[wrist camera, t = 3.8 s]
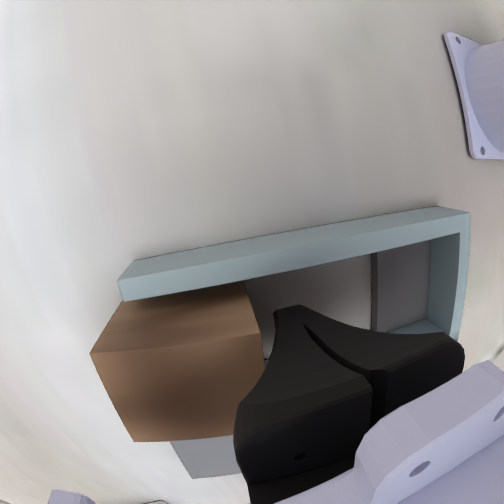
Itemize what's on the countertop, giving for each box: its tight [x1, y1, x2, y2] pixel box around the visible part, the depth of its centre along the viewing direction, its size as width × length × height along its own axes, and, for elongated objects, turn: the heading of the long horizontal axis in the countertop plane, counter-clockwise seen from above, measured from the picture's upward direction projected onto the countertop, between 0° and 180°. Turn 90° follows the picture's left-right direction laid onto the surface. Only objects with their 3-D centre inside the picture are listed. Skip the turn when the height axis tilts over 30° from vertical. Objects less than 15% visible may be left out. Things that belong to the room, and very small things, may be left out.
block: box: [90, 280, 265, 442], centre depth 10 cm, size 5×4×5 cm
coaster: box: [170, 359, 269, 479], centre depth 15 cm, size 9×9×1 cm
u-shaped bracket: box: [117, 206, 470, 341], centre depth 12 cm, size 15×7×2 cm, turn 99°
